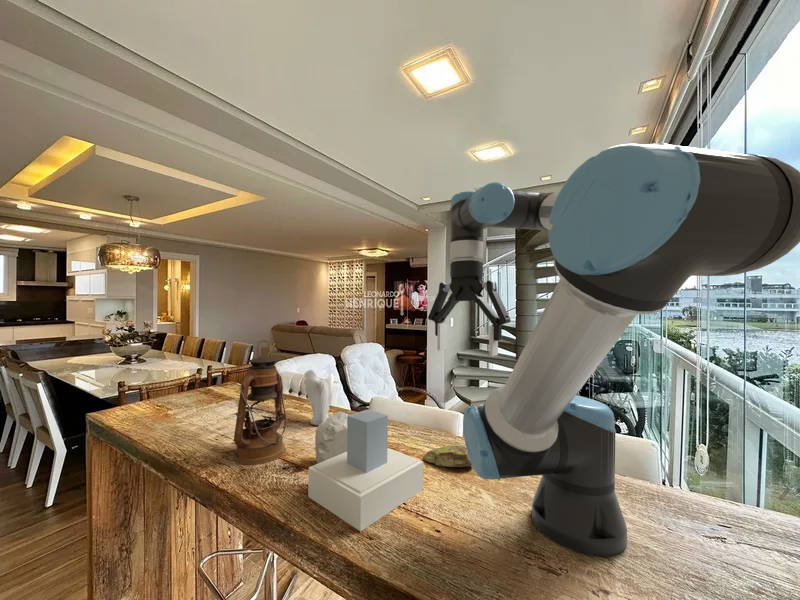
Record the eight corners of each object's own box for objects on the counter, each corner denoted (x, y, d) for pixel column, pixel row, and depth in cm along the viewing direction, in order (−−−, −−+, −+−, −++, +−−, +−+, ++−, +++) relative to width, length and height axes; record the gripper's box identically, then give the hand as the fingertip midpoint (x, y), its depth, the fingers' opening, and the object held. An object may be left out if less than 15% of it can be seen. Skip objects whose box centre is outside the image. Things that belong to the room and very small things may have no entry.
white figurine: (337, 420, 115) (337, 367, 116) (324, 429, 108) (324, 372, 108) (316, 418, 118) (316, 366, 118) (301, 426, 110) (302, 370, 111)
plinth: (423, 489, 73) (423, 460, 73) (360, 531, 60) (360, 495, 60) (371, 465, 84) (371, 440, 84) (308, 496, 70) (308, 466, 70)
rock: (477, 479, 83) (472, 445, 92) (472, 458, 80) (468, 426, 89) (426, 483, 85) (426, 450, 94) (420, 464, 82) (421, 432, 91)
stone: (319, 469, 82) (319, 421, 82) (313, 460, 86) (313, 415, 86) (358, 458, 88) (358, 413, 88) (350, 451, 92) (350, 408, 92)
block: (387, 462, 72) (387, 415, 72) (366, 473, 68) (366, 422, 68) (367, 454, 76) (368, 409, 76) (347, 463, 71) (347, 415, 72)
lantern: (264, 438, 101) (265, 336, 101) (300, 445, 96) (301, 338, 96) (214, 462, 85) (215, 342, 85) (253, 472, 80) (255, 345, 80)
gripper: (526, 258, 74) (525, 356, 74) (432, 266, 90) (432, 346, 90) (511, 254, 68) (511, 360, 68) (414, 263, 85) (414, 349, 84)
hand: (466, 352), depth 79 cm, fingers open, 13 cm apart
